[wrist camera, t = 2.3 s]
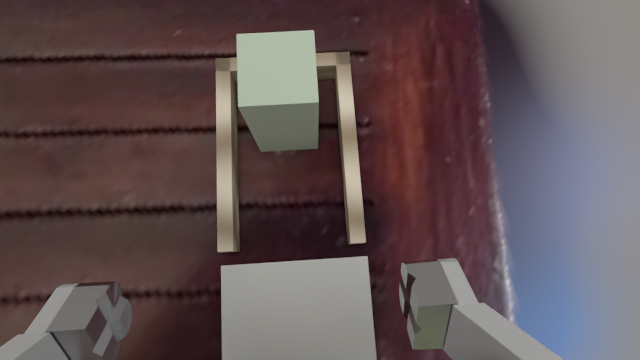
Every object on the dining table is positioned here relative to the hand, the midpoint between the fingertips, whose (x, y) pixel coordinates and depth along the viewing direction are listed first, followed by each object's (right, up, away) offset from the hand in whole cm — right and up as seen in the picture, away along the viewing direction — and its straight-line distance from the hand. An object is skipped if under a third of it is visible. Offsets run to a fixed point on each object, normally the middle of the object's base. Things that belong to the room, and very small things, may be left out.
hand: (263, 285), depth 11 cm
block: (-1, +8, +23) cm, 24 cm away
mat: (0, -9, +19) cm, 21 cm away
